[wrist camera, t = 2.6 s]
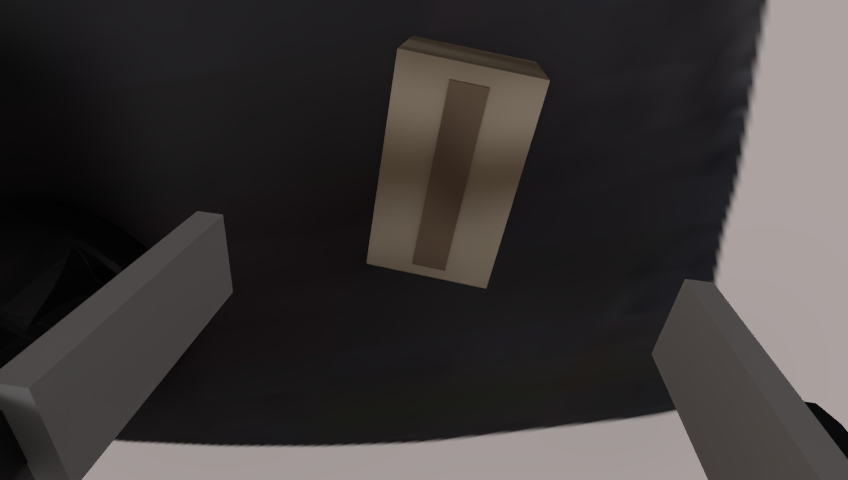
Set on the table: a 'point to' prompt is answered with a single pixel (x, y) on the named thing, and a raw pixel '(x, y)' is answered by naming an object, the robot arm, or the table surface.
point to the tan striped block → (452, 158)
